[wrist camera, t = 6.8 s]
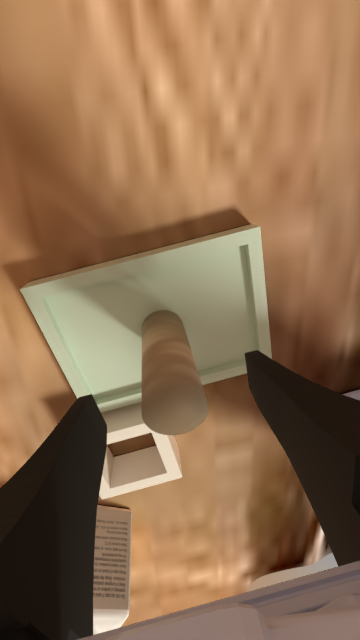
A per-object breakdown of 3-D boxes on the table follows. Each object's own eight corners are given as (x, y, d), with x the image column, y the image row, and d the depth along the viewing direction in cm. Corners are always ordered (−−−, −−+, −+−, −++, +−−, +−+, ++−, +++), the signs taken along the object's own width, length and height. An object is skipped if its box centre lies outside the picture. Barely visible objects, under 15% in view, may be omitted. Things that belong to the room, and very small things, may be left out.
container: (108, 551, 30) (86, 784, 18) (33, 544, 27) (-47, 805, 16) (133, 507, 27) (127, 748, 15) (53, 496, 25) (-26, 767, 13)
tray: (251, 224, 17) (260, 226, 15) (264, 355, 21) (272, 366, 20) (29, 281, 16) (20, 289, 15) (90, 403, 21) (86, 416, 20)
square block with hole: (159, 391, 21) (161, 418, 19) (178, 447, 24) (182, 477, 22) (77, 414, 21) (68, 443, 19) (106, 467, 24) (102, 499, 21)
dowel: (180, 306, 17) (203, 377, 11) (186, 342, 19) (211, 427, 12) (137, 315, 17) (134, 392, 11) (146, 351, 19) (149, 441, 12)
